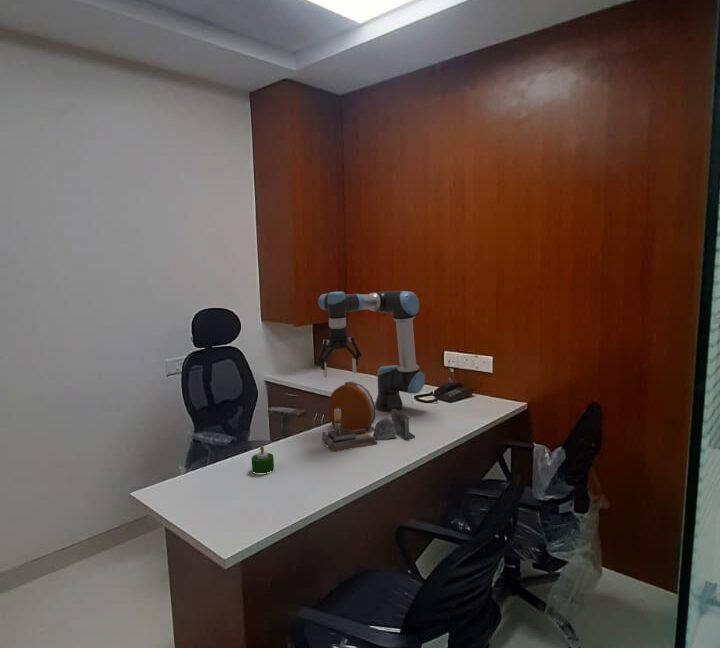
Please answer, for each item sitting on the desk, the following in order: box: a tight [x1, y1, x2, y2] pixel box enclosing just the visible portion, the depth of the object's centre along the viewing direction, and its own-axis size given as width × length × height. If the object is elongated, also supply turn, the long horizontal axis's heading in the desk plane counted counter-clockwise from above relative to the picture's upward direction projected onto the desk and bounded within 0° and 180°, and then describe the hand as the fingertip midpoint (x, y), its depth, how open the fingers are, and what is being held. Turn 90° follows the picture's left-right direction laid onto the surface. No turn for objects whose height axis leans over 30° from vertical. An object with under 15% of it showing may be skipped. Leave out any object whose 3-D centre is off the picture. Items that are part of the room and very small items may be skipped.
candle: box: [251, 445, 275, 473], centre depth 188 cm, size 8×8×10 cm
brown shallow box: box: [321, 429, 378, 452], centre depth 215 cm, size 14×21×4 cm, turn 111°
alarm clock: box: [327, 381, 376, 431], centre depth 235 cm, size 22×10×23 cm, turn 65°
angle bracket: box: [391, 409, 416, 441], centre depth 224 cm, size 14×5×10 cm, turn 21°
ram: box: [327, 408, 356, 443], centre depth 213 cm, size 8×10×15 cm
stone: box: [372, 416, 397, 441], centre depth 221 cm, size 10×10×10 cm
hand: (340, 375), depth 214 cm, fingers open, 13 cm apart
